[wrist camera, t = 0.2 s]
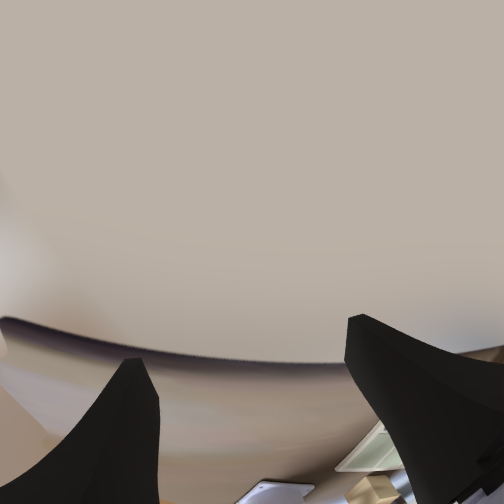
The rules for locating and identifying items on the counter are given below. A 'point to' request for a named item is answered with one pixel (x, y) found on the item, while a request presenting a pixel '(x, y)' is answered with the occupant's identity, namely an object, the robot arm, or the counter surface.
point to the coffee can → (399, 500)
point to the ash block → (372, 491)
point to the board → (372, 453)
